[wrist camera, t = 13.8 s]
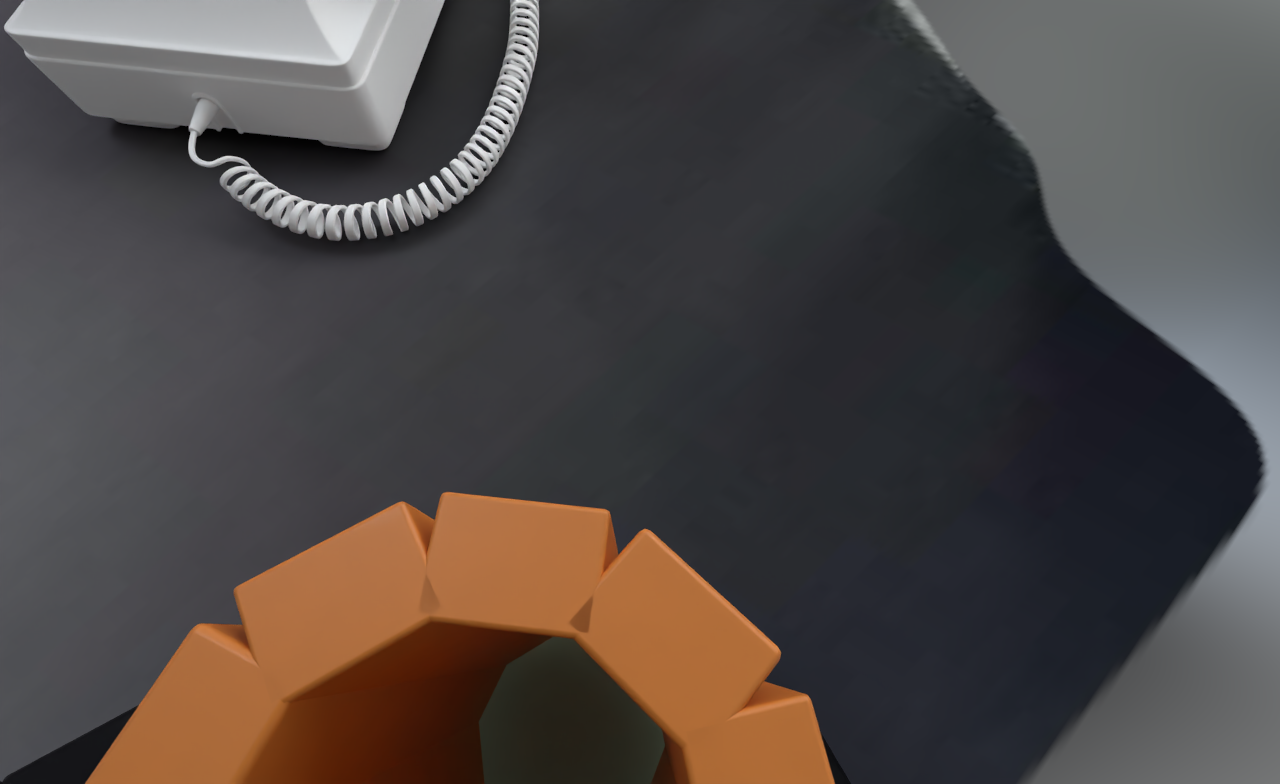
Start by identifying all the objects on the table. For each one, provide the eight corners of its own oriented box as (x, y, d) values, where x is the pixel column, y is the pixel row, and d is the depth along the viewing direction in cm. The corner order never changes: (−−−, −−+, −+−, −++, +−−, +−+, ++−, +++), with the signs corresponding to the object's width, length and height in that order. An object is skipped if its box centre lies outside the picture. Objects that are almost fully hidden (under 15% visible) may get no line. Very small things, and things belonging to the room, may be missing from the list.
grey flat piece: (742, 730, 14) (744, 732, 14) (566, 936, 13) (565, 944, 12) (586, 556, 16) (586, 555, 16) (413, 723, 14) (408, 724, 14)
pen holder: (708, 933, 12) (906, 1723, 3) (389, 891, 12) (-234, 1519, 3) (725, 600, 14) (863, 536, 6) (459, 570, 15) (200, 463, 6)
